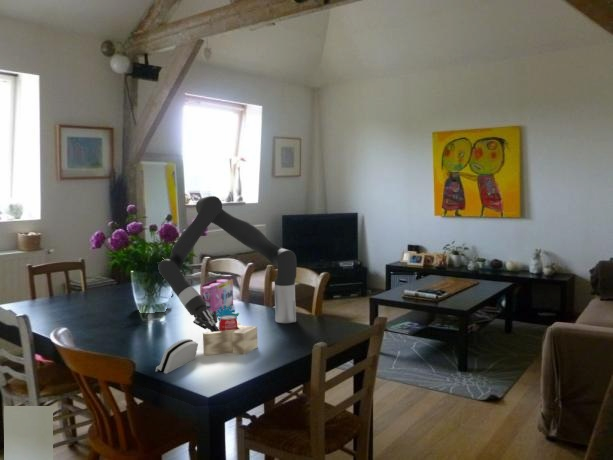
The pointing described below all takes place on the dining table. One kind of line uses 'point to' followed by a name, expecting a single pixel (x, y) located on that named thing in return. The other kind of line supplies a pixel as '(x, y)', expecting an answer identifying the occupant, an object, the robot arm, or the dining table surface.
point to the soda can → (227, 323)
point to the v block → (231, 340)
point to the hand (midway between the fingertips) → (218, 334)
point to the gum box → (217, 293)
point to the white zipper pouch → (178, 355)
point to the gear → (226, 312)
